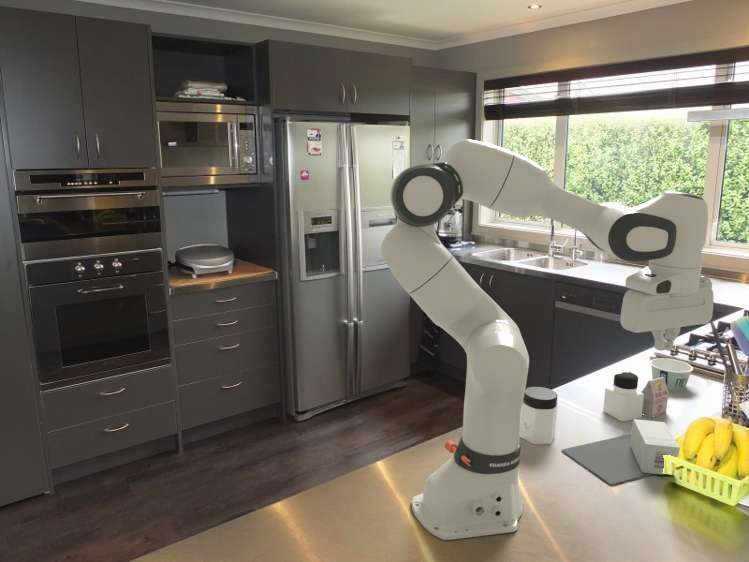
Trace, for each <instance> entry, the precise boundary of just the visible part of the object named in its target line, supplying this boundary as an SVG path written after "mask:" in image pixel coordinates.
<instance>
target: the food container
mask: <svg viewBox="0 0 749 562" xmlns="http://www.w3.org/2000/svg"><path fill="white" fill-rule="evenodd" d="M649 364H650V365H651V376H652V377H651V378H652V379H651V380H654V379H657V378H661V377H665V381H666V385H667V389H670V390H669V391H675V390H678V391H683V390H685V389H686V387H687V384H688V381H689V378H690V375H691V374H692V373H691V372H693V371H694V367H693V366H692V365H691V364H689V363H687V362H684V361H682V360H679V359H673V358H663V357H662V358H660V357H659V358H653V359H651V360H650V361H649Z"/></svg>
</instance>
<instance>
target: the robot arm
mask: <svg viewBox="0 0 749 562" xmlns="http://www.w3.org/2000/svg"><path fill="white" fill-rule="evenodd" d="M460 200H465V201H470V202H473V203H476V204H478V205H480V206H482V207H485V208H487V209H489V210H492V211H494V212H498V213H501V214H503V215H507V216H511V217H516V218H520V219H521V218H522V219H526V218H530V217H543V218H548V219H550V220H553V221H555V222H558V223H559V224H563V225H565V226H567V227H570V228H572V229H574V230H577V231H578V232H580V233H582V234H583V235H584V236H585V238H586V239H588V241H589V242H590V243H591V245H592V246H594V247H595V248H596V249H599V250H600V251H602V252H605V253H608V254H609V255H611V256H612V257H615V258H616V259H619V260H621V261H624V262H628V263H629V262H630V263H636V262H644V261H645V262H646V261H648V266H645V267H644V268H642V269H641V270H638V271H637V272H635V273H633V274H630V275H628V276H627V277H626V279H625V285H624V286H625V287H626V289H627V288H628V290H626V292H625V293H624V295H623V299H622V304H621V310H620V321H619V322H620V325H621V326H622V329H624V330H626V331H630V332H632V333H636V334H637V333H639V334H640V333H646V332H651V333H652V336H653V339H654V349H655V350H656V351H667V350H672V349H673V348H674V342H675V340H676V339H677V337H678V336H679V334H680V333H681V328H682V327H690V326H696V325H697V326H699V325H705V324H708V323H710V321H711V320H712V318H713V313H714V291H713V282H712V281H711V279H710V278H709V277H708V276H706V275H702V267H703V260H702V252H703V249H704V246H705V245H706V241H707V234H708V225H709V224H708V223H709V211H708V209H709V208H708V204H707V201H706V200H705V199H704V198H703V197H701V196H700V195H696V194H692V193H687V192H682V191H681V192H680V191H676V190H664V191H663V192H662V193H660V194H659V195H658V196H655V197H653V198H652V199H650V200H648V201H645V202H643V203H640V204H638V205H635V206H632V207H631V206H629V205H626V204H625V203H621V202H613V201H610V202H597V201H593V200H591V199H588V198H585V197H582V196H580V195H578V194H576V193H573V192H571V191H569V190H567V189H564V188H562V187H560V186H559V185H558V184H557V183H555V182H554V181H553V180H552V179H551V177H550V175H549V173H548V171H547V170H546V169H544V168H543V167H541V166H540V164H537V163H536V162H534V161H533V160H531V159H529V158H527V157H526V156H523V155H521V154H519V153H517V152H515V151H512V150H509V149H508V148H504V147H501V146H500V145H499V146H498V145H496V144H492V143H489V142H484V141H481V140H476V139H470V138H462V139H460V140H458V141H456V142H455V143H454V144H453V145H452V146H451V147H450V148H449V149H448V150H447V152H446V154H445V156H444V157H443V160H442V161H441V162H433V163H427V164H425V163H424V164H419V165H412V166H409V167H407V168H405V169H404V170H402V171H401V172H400V173H399V174H397V176H396V177H395V179H394V181H393V183H392V185H391V189H390V202H391V205H392V209H393V212H394V216H395V222H396V223H395V225H394V226H393V228H392V229H390V230H389V231H388V233H386V235H385V237H384V238H383V240H382V243H381V246H380V254H381V256H382V259H383V261H385V264H386V266H388V268H389V270H390V272H391V274H392V275H393V276H394V278H395V279H396V280H397V281H398V283H399V285H400V286H401V287H402V288H403V289H404V291H405V292H406V293H407V294H408V295H409V296H410V297H411V298H412V300H413V301H414V302H415V303H416V304H417V305H418V307H419V308H420V309H421V310H422V311H423V313H425V314H426V315H427V317H428V318H429V319H430V320H431V322H432V323H433V324H435V325H436V326H438V327H440V328H441V329H443V330H444V331H445V332H446V333H447V334H449V336H451V337H452V338H453V339H454V340H455V341H456V342H457V343H458V344H459V345H460V346H461V347H462V349H464V352H465V354H466V366H467V367H466V378H465V392H464V393H465V394H464V401H463V416H462V417H463V420H462V421H463V422H462V435H461V437H460V439H459V441H458V443H457V444H456V443H454V441H453V440H451V439H448V440H446V441H445V442H444V445H443V447H444V448H445V450H446V451H448V452H449V453H451V454H453V456H452V457H450V458H449V459H448V460H447V461H446V462H445V463H443V464H442V465H440V467H439V468H437V469H436V470H435V471H434V472H433V473H431V474H430V475H429V476H428V477H427V479H426V480H425V484H424V489H423V492H421V493H419V494H417V495H414V496H413V497H412V499H411V500H412V501H411V509H412V512H413V514H414V516H415V518H416V519H417V520H418V522H419V523H420V524H421V526H422V527H423V528H424V529H426V530H427V531H428V532H429V533H430V534H431V535H433V536H435V537H436V538H438V539H441V540H443V541H446V540H447V541H452V540H459V539H467V538H475V537H483V536H491V535H498V534H507V533H514V532H516V531H518V521H519V519H520V517H521V516H522V515H523V509H524V508H523V503H522V499H521V495H520V488H519V487H520V486H519V475H518V474H519V471H518V470H519V469H518V468H519V465H520V463H521V442H520V424H521V410H522V402H523V398H524V393H525V389H527V388H526V387H527V381H528V373H529V365H530V356H529V352H528V350H527V346H526V344H525V341H524V339H523V336H522V334H521V331H520V328H519V326H518V325H517V323H516V322H515V321H514V320H513V318H511V317H510V316H509V315H508V314H507V312H505V310H503V308H501V306H500V305H499V304H498V303H497V302H496V301H495V300H494V299H493V298H492V297H491V296H490V295H489V294H488V293H486V291H485V290H484V289H483V288H481V286H480V285H479V284H478V283H477V282H476V281H475V280H474V279H473V278H472V277H471V275H470V274H469V273H468V272H467V271H466V269H465V268H464V267H463V266H462V265H461V263H459V261H458V260H457V259H456V258H455V256H454V255H452V253H451V252H450V251H449V250H448V249H447V248H446V247H445V245H444V244H443V243H442V241H441V240H440V238H439V237H438V235H437V232H436V224H437V223H438V222H440V221H442V220H443V219H444V218H445V217H446V216H447V215H448V214H449V212H450V211H451V210H452V209H453V208H454V206H455V205H456V204H457V203H458V201H460Z"/></svg>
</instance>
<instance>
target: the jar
mask: <svg viewBox="0 0 749 562" xmlns="http://www.w3.org/2000/svg"><path fill="white" fill-rule="evenodd" d="M557 415H558V394H557V392H556V391H555V390H553V389H550V388H548V387H543V386H530V387H527V388H525V393H524V398H523V402H522V408H521V419H520V433H519V438H521V439H522V440H524V441H526V442H528V443H530V444H532V445H551V444H552V443H553V440H554V439H555V436H556V429H557V427H556V426H557V417H558V416H557Z"/></svg>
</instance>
